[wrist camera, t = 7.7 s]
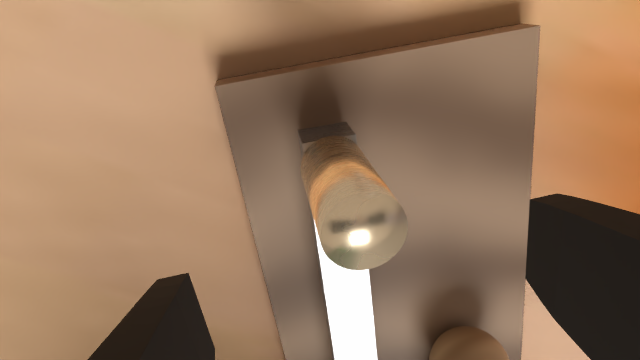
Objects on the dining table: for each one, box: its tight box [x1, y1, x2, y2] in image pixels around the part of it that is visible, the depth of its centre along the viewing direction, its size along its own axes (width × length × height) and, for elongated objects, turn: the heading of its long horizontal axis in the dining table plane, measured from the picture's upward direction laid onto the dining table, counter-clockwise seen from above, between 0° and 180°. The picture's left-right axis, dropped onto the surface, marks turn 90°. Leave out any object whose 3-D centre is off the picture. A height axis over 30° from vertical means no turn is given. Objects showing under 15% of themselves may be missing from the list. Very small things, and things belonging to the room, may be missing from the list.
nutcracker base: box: [215, 24, 540, 360], centre depth 18 cm, size 20×12×4 cm, turn 9°
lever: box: [297, 122, 408, 360], centre depth 16 cm, size 16×2×6 cm, turn 7°
